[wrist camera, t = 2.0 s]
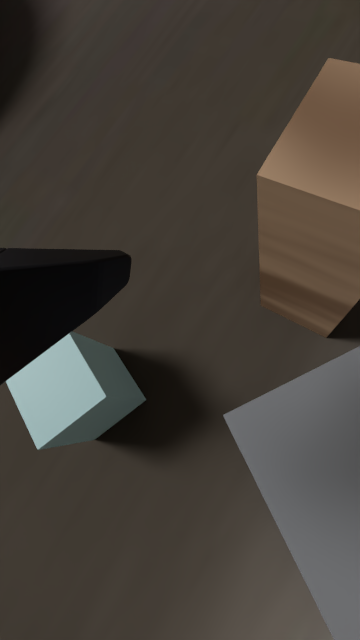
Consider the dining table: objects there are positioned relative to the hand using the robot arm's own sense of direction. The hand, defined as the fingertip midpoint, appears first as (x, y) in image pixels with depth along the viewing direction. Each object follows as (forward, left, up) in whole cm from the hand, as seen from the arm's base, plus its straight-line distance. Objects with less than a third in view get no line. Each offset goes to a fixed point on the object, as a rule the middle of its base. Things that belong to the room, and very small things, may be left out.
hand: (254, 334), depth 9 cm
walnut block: (+5, +3, -12) cm, 14 cm away
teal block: (-10, +4, -12) cm, 16 cm away
